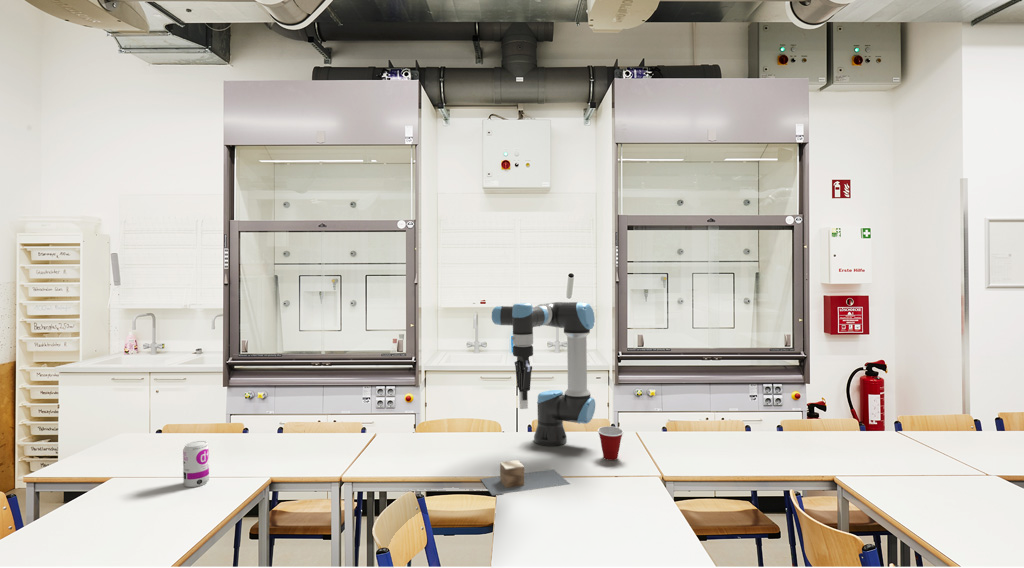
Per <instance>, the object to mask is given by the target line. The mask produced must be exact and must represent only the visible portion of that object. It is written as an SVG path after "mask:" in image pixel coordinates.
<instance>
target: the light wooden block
mask: <svg viewBox="0 0 1024 568" xmlns="http://www.w3.org/2000/svg"><path fill="white" fill-rule="evenodd" d="M499 468H500V469H499V474H500V475H499V476H500V481H501V482H502V484H503V485H504V486H505V487H506V488H508V487H515V486H523V485H524V473H525V466H524V464H523V463H521V462H520V460H518V459H516V460H515V459H514V460H507V461H502V462H501V461H500V462H499Z"/></svg>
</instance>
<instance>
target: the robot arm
mask: <svg viewBox="0 0 1024 568" xmlns="http://www.w3.org/2000/svg"><path fill="white" fill-rule="evenodd" d="M595 318H596V317H595V312H594V309H593V308H592V306H591V304H589V303H587V302H578V301H577V302H575V301H573V302H571V301H569V302H568V301H567V302H565V301H557V302H550V303H541V304H538V305H536V306H534V305H532V304H531V303H526V302H525V303H521V302H520V303H514V304H513V305H512V306H509V305H508V306H504V305H499V306H498V305H497V306H495V307H494V308H493V309H492V311H491V320H492V321H491V322H493V324H494V325H499V326H512V336H511V340H512V344H513V346H512V356H513V357H516V361H514V365H515V366H514V367H515V378H516V388H518V391H519V394H518V395H519V396H518V397H519V399H518V400H519V409H520V410H528V409H529V407H528V405H529V402H528V401H529V400H528V399H529V397H528V395H529V394H528V392H530V391H531V381H532V371H533V366H531V364H530V363H531V361H530V359H529V358H530V357H533V355H534V346H533V345H534V331H533V330H534V328H535V327H542V326H547V327H552V328H553V327H554V328H560V329H563V333H564V334H565V335H566V339H567V341H566V342H567V344H566V346H567V349H566V350H567V352H566V353H567V356H566V357H567V389H566V390H565V391H564V392H563V390H560V389H553V390H552V389H550V390H545V391H541V392H539V393H538V395H537V402H536V403H537V425H536V428H535V432H534V436H533V442H534V443H535V444H537V445H540V446H547V447H555V446H556V447H557V446H562V445H564V444H566V443H567V440H568V438H567V433H566V431H565V427H564V422H570V423H577V424H589V423H590V422H591V421H592V420H593V417H594V414H595V411H596V399H594V398H593V397H591V391H589V389H588V365H587V363H588V362H587V357H588V355H587V353H588V351H587V349H588V348H587V345H588V344H587V337H588V335H589V334H590V332H591V329H593V328H594V326H595V322H596V321H595V320H596V319H595Z"/></svg>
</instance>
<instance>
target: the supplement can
mask: <svg viewBox="0 0 1024 568" xmlns="http://www.w3.org/2000/svg"><path fill="white" fill-rule="evenodd" d="M209 455H210V453H209V445H208V443H207V441H206V440H197V441H191V442H187V443H185V445H184V448H183V449H182V459H183V461H182V462H183V463H182V464H183V468H182V470H183V471H182V472H183V475H182V477H183V486H185V487H186V488H197V487H202V486H205V485H206V484H207V483H208V482H209V480H210V463H209V462H210V456H209Z"/></svg>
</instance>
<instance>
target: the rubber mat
mask: <svg viewBox="0 0 1024 568" xmlns="http://www.w3.org/2000/svg"><path fill="white" fill-rule="evenodd" d="M479 480H480V481H481V483H483V485H484V486H485V488H486V489H487V491H488V492H489V494H490V495H491V496H501V495H504V494H509V493H516V492H524V491H532V490H538V489H539V490H540V489H545V488H546V489H547V488H551V487H552V488H554V487H559V486H560V487H561V486H567V485H571V483H570V482H569V481H568V480H567V479H565V478H564V477H563V476H562V475H561V474H560V473H558V472H557V471H556V470H555V469H545V470H539V471H531V472H524V485H523V486H515V487H508V488H506V487H505V486H504V485H503V484H502V482H501V481H500V475H499V476H491V477H485V478H480V479H479Z"/></svg>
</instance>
